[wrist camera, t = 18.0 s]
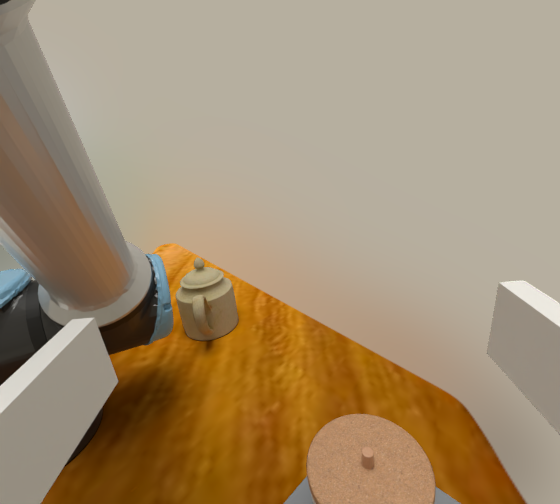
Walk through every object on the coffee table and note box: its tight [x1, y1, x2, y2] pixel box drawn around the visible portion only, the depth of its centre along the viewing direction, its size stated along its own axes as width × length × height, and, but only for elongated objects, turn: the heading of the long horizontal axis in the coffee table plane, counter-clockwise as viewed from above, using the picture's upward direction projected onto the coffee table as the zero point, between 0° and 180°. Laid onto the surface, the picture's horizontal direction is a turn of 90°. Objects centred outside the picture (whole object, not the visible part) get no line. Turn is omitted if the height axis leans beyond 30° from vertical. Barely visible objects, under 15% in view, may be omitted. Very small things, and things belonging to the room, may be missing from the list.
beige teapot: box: [176, 258, 238, 341], centre depth 61 cm, size 15×11×15 cm
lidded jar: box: [307, 414, 436, 504], centre depth 29 cm, size 11×11×9 cm
